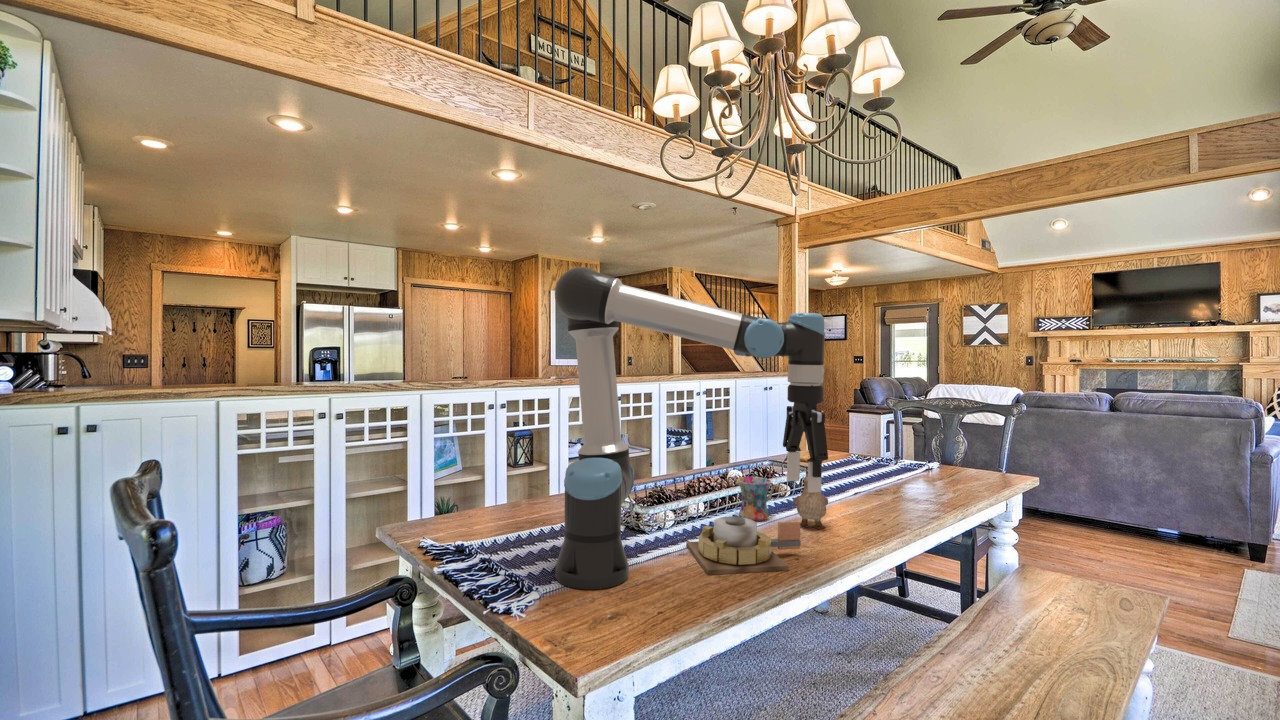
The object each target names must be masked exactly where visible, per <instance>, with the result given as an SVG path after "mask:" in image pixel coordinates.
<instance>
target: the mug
mask: <svg viewBox="0 0 1280 720" xmlns="http://www.w3.org/2000/svg"><path fill="white" fill-rule="evenodd" d="M737 483H738V485H739V488H740V491H741V507H740V509H739V512H738V517H742V518H747V519H751V520H753V521H764V520H766V519H767V520H768V518H770V513H769V510H768V506H767V502H768V500H769V499H770V498H771V497H772V495H773V493H774V490H775V485H774V484H773V483H772V480H771V479H769V478H765V477H761V476H743V477H742V476H741V477H738V479H737ZM770 487H771V490H770ZM769 490H770V493H769V494H768V492H769Z"/></svg>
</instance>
